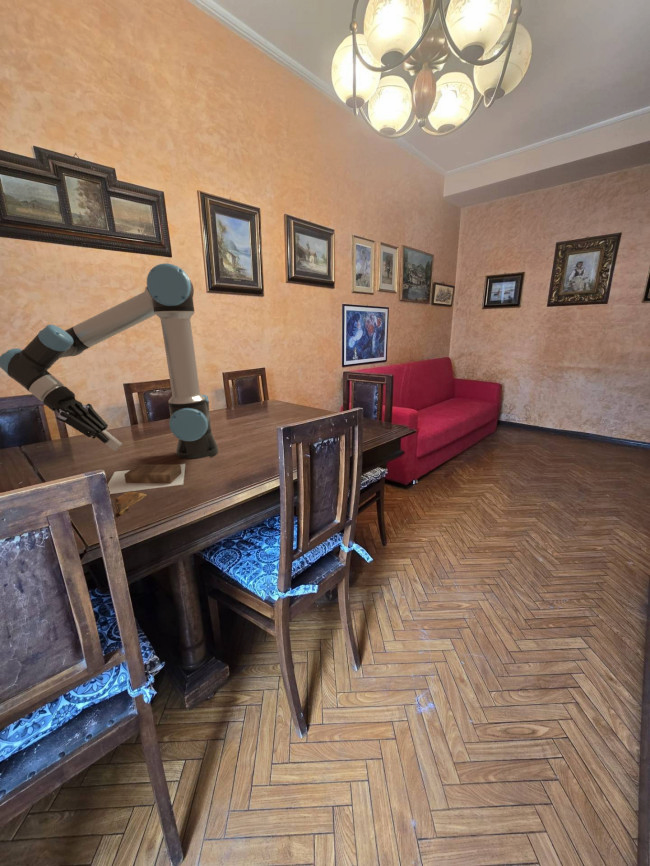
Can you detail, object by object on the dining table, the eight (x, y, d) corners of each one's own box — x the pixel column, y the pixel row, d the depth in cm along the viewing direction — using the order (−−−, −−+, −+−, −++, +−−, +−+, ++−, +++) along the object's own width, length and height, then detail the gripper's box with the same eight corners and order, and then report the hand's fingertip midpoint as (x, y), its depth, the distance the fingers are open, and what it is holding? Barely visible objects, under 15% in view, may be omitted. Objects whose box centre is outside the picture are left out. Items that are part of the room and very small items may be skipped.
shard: (120, 517, 90) (118, 511, 90) (95, 514, 92) (94, 508, 91) (149, 498, 100) (148, 493, 100) (126, 496, 102) (125, 490, 102)
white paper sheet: (185, 465, 123) (185, 463, 123) (183, 486, 107) (183, 484, 107) (115, 473, 116) (114, 471, 116) (101, 497, 100) (101, 495, 100)
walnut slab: (124, 474, 107) (169, 474, 106) (138, 464, 114) (180, 464, 114) (125, 483, 108) (170, 483, 107) (139, 472, 115) (181, 473, 115)
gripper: (62, 398, 111) (123, 448, 115) (28, 407, 98) (98, 463, 103) (76, 382, 109) (136, 433, 114) (43, 388, 97) (113, 446, 101)
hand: (118, 447), depth 108 cm, fingers closed
